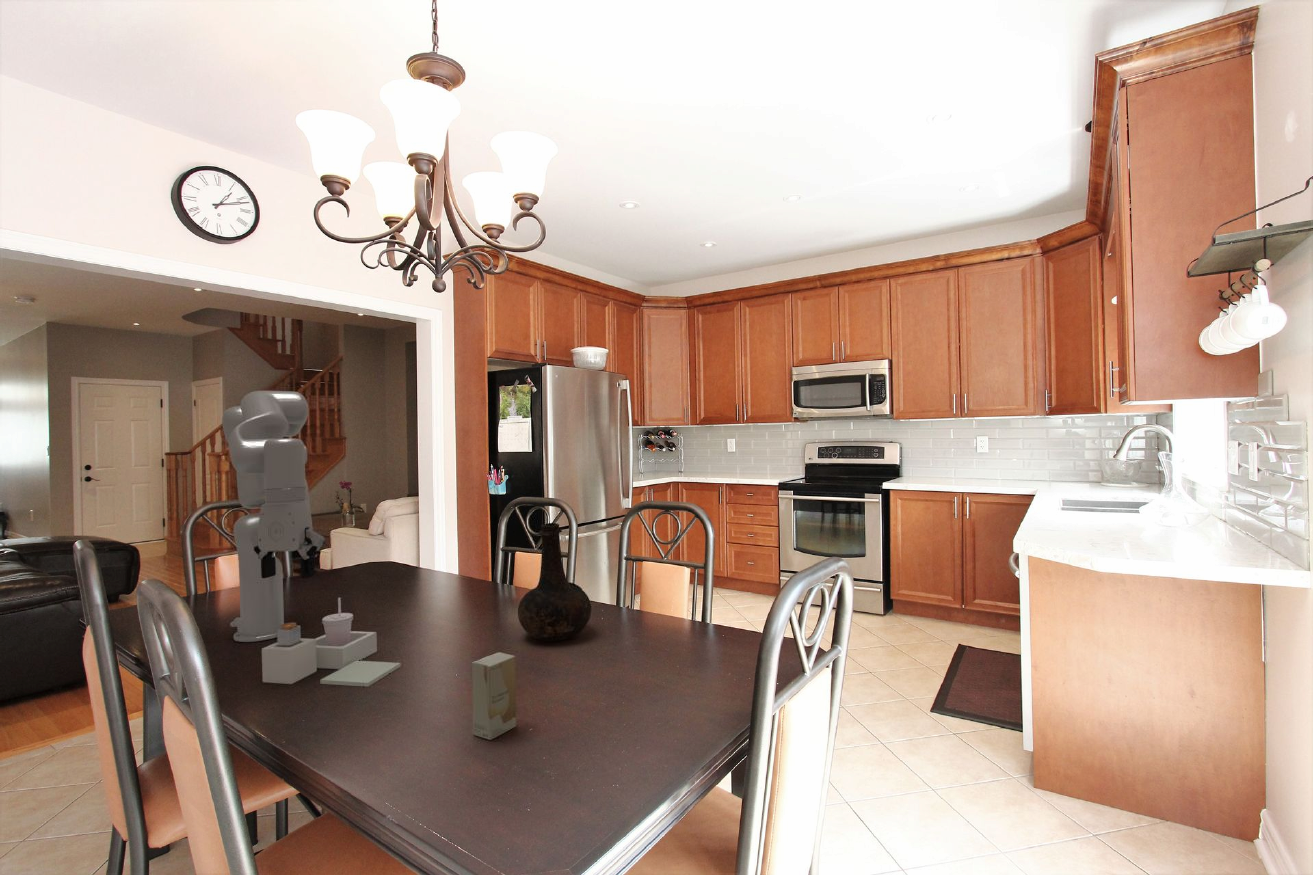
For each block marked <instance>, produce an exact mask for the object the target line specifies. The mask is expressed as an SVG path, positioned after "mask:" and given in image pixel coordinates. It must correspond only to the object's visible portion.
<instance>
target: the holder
mask: <svg viewBox="0 0 1313 875" xmlns="http://www.w3.org/2000/svg"><path fill="white" fill-rule="evenodd" d="M315 639H316V666H317V669H329V670H330V669H332V670H340V669H342V668H344V667H345V666H347V665H349V664H351V663H353V662H355V661H359V660H360V661H363V660H364V659H365V658H367V657H369V656H371V655H373V654H375V653H377V652H378V647H377V646H378V643H377V642H378V641H377V640H378V639H377V631H355V630H353V631H352V630H351V632H350V642H349V643H348V644H346V645H344V646H342V647H338V646H327V640H326V634H325V633H324V634H323V635H321V636H318V637H316V638H315ZM363 658H364V659H363Z"/></svg>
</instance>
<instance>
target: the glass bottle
mask: <svg viewBox="0 0 1313 875" xmlns="http://www.w3.org/2000/svg"><path fill="white" fill-rule="evenodd" d="M540 527H541V530H539V531H538V535H540V536H541V555H540V556H541V560H540V561H541V562H540V571H539V572H540V573H539V579H538V583H537V586H535V587H534V588H532V589H531V590H528V592H526V593H525V594H524V596H523V597H522V598H521V599H520V601H519V603H518V607H517V618H518V621H519V624H520V626H521V627H522V628H523V630H524V631H525V632H526V633H527V634H528V635H529V636H531V637H532V638H534V639H536V640H539V641H544V642H559V641H564V640H568V639H570V638H573V637H575V636H576V635H578V634H579V633H581V632H582V631H583V630H584V629H585V627H586V626H587V625H588V623H589V621H590V619H591V614H592V605H591V604H592V603H591V600H590V598H589V595H588V594H587V593H586V592H585V591H584V590H583V588H582V587H581V586H579V585H578V584H577V583H573V582H569V581H568V579H567V577H566V573H565V569H564V564H563V563H564V562H563V558H562V557H563V556H562V550H561V548H562V547H561V540H560V539H561V538H560V533H562V532H563V530H562V529H560V524H559V523H556V522H548V523H544V524H542V525H540Z"/></svg>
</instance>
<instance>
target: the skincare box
mask: <svg viewBox="0 0 1313 875" xmlns="http://www.w3.org/2000/svg"><path fill="white" fill-rule="evenodd" d="M471 667H472V668H471V670H472V672H471V673H472V677H471V678H472V680H471V681H472V735H474V736H476V737H479V738H483V739H485V740H489V741H491V740H493V739H495V738H497V737H499V736H501V735H502V734H503V735H504V733H506V732H508V731H510V730H511V729H513V728H515V727H517V686H516V681H517V680H516V655H512V654H510V653H509V654H507V653H504V652H500V651H499V652H496V653H493V654H491V655H487V656H484V657H483V658H481V659H478V660H475V661H472V663H471Z"/></svg>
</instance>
